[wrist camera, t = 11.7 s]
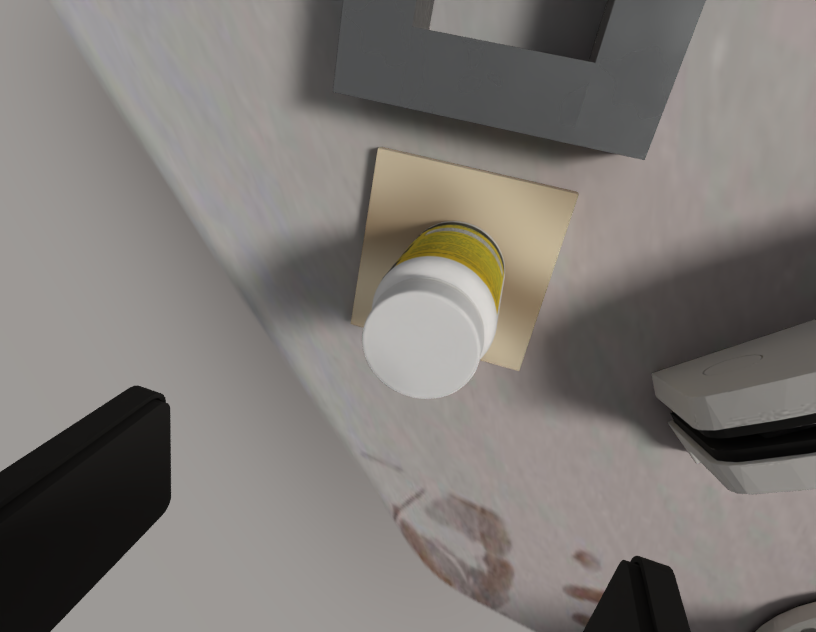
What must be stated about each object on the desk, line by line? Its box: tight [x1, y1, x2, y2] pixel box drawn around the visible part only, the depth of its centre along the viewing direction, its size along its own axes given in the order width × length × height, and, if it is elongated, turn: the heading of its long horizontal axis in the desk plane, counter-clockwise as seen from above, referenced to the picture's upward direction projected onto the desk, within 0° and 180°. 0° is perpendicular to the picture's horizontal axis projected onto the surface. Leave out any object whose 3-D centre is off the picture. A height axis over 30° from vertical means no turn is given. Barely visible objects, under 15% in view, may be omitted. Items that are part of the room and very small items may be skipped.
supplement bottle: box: [362, 221, 505, 399], centre depth 20 cm, size 5×5×8 cm
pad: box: [351, 147, 579, 371], centre depth 24 cm, size 9×9×1 cm
